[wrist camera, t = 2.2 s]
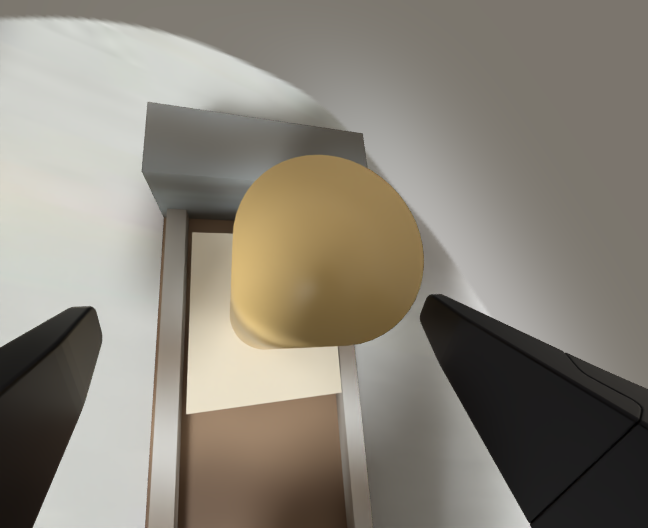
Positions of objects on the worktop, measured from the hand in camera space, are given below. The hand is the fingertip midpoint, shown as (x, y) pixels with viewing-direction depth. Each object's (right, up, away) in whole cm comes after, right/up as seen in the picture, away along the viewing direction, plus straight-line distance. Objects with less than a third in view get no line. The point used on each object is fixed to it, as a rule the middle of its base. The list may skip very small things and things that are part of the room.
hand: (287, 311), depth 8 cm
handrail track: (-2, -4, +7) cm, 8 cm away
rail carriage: (-2, -1, +6) cm, 6 cm away
